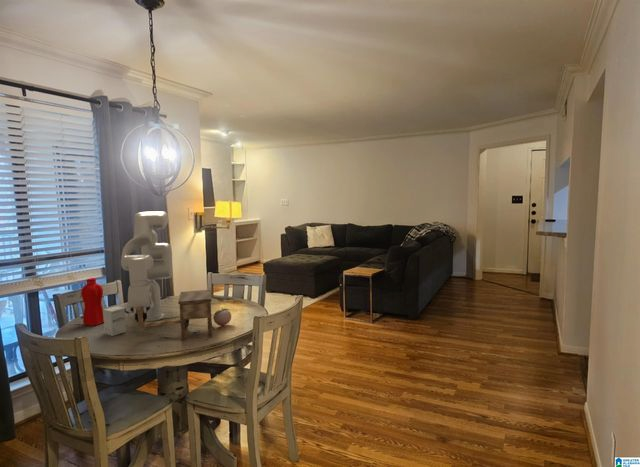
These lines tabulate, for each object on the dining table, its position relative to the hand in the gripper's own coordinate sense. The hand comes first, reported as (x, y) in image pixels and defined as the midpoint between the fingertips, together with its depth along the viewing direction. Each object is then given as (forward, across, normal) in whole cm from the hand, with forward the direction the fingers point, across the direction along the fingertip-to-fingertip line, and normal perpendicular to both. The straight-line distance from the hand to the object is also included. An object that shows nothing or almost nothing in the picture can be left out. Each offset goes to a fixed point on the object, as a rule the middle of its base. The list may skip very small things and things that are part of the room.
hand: (141, 320), depth 190 cm
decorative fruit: (+9, -38, -6) cm, 40 cm away
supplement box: (+9, +15, -13) cm, 22 cm away
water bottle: (+9, +30, -32) cm, 45 cm away
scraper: (+4, -10, 0) cm, 11 cm away
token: (+9, -24, 0) cm, 26 cm away
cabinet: (+9, -26, 0) cm, 27 cm away
